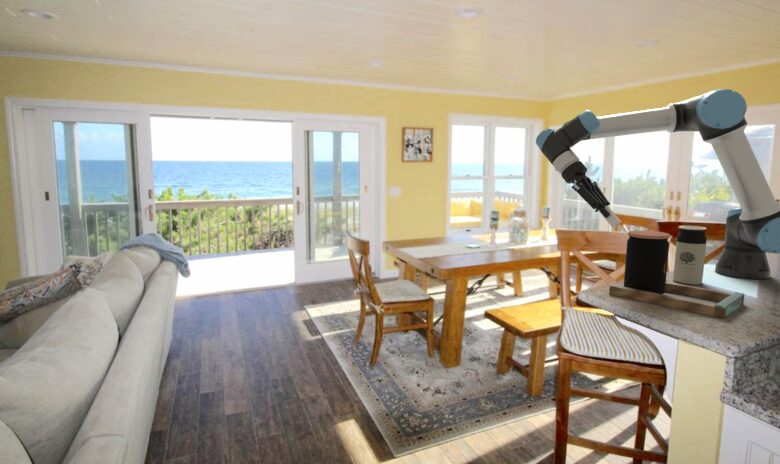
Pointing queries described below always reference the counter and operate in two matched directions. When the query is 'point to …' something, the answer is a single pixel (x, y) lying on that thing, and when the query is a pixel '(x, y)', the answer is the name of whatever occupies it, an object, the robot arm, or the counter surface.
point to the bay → (721, 310)
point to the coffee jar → (646, 261)
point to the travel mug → (690, 255)
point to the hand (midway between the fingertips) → (616, 224)
